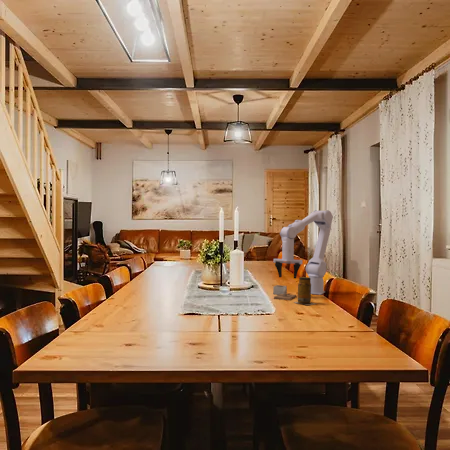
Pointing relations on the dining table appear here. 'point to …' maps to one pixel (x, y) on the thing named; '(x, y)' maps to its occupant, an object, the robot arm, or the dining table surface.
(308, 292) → the condiment
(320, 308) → the dining table surface
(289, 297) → the block
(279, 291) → the block with square hole
